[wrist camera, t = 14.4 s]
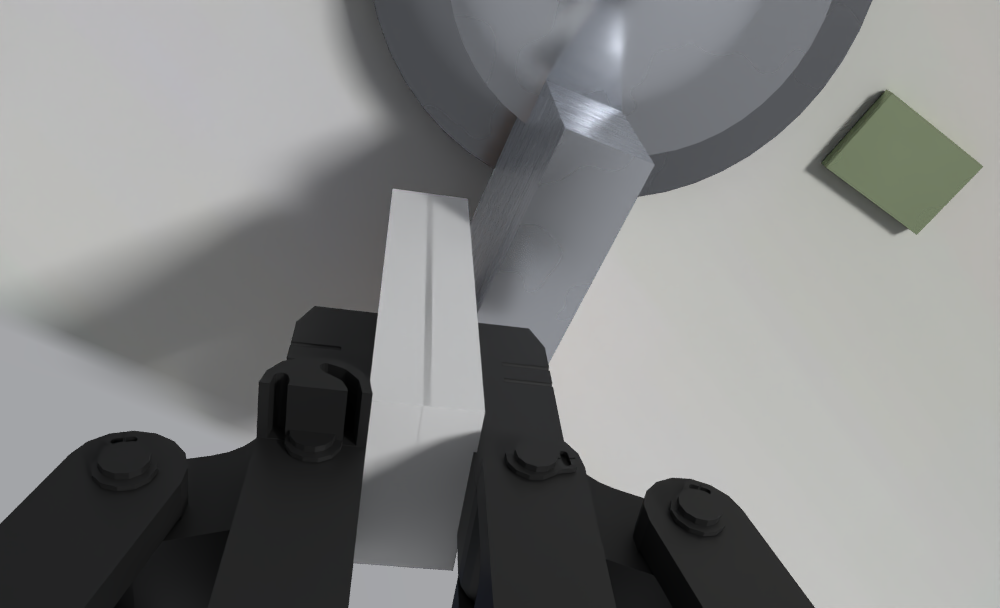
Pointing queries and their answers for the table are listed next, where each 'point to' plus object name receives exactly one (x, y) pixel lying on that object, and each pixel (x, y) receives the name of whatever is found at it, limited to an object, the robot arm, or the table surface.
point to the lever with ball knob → (603, 125)
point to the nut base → (856, 159)
